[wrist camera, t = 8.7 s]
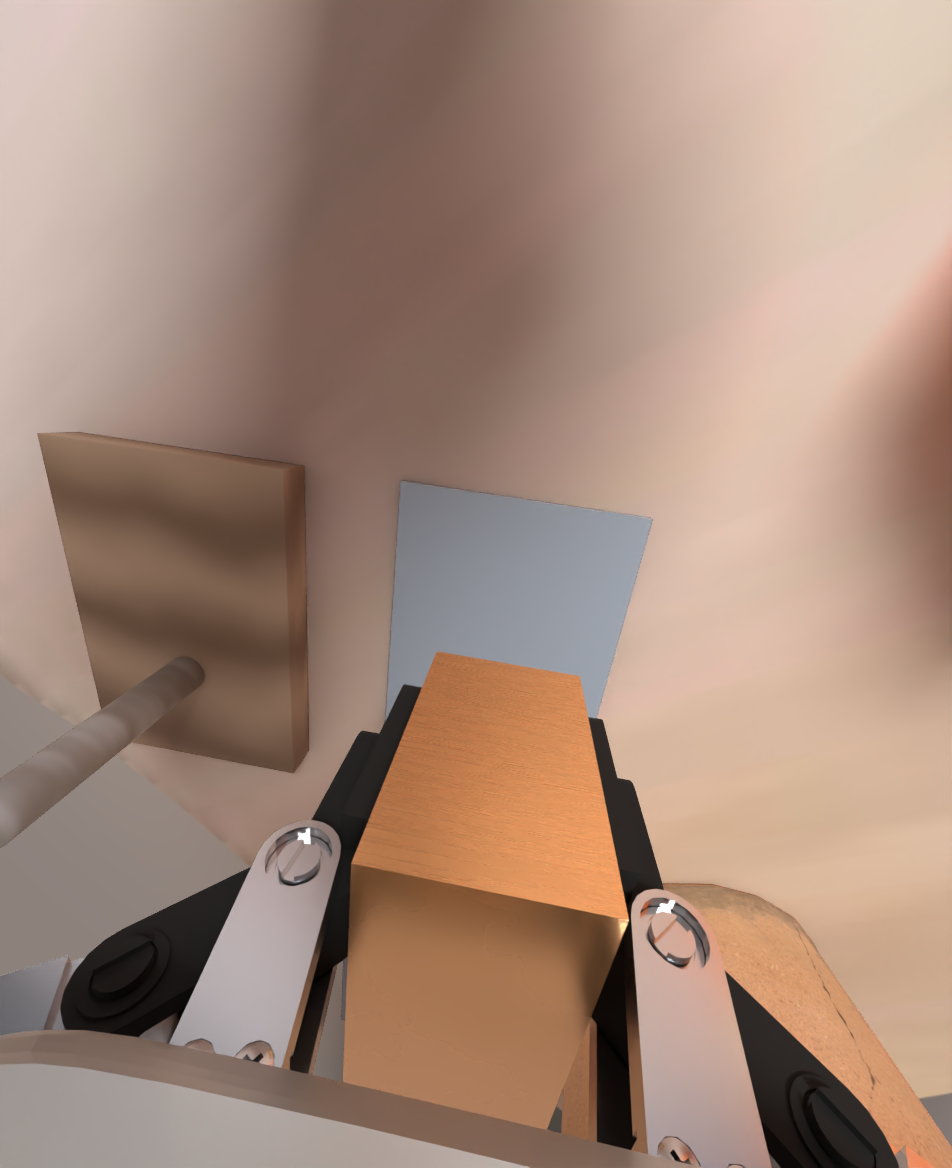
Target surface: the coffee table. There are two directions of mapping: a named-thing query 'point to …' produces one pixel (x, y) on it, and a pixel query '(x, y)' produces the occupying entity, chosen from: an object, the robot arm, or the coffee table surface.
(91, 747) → the post stand
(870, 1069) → the pottery
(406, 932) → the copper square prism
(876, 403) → the coffee table surface
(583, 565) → the mat
